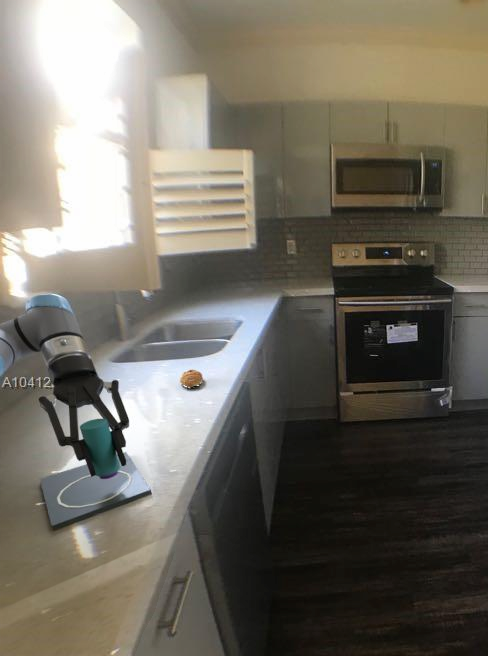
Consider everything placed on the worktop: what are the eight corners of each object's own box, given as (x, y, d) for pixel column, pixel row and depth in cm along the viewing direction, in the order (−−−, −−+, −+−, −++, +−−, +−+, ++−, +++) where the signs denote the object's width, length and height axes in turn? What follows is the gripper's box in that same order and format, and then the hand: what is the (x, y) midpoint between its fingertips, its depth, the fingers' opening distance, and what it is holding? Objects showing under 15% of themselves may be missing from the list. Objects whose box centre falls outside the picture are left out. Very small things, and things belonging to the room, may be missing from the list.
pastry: (205, 387, 141) (203, 376, 140) (181, 391, 139) (179, 380, 137) (202, 378, 149) (200, 367, 148) (180, 382, 147) (177, 371, 145)
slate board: (41, 482, 93) (39, 478, 93) (127, 455, 103) (125, 451, 102) (53, 530, 79) (51, 525, 78) (151, 493, 88) (150, 489, 88)
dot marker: (93, 474, 89) (77, 423, 85) (118, 466, 91) (104, 416, 87) (98, 483, 86) (81, 431, 82) (124, 474, 88) (109, 423, 84)
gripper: (11, 364, 82) (49, 480, 77) (118, 344, 93) (159, 444, 87) (18, 384, 88) (55, 493, 82) (118, 363, 99) (157, 458, 93)
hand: (108, 468), depth 85 cm, fingers closed on dot marker, 4 cm apart
